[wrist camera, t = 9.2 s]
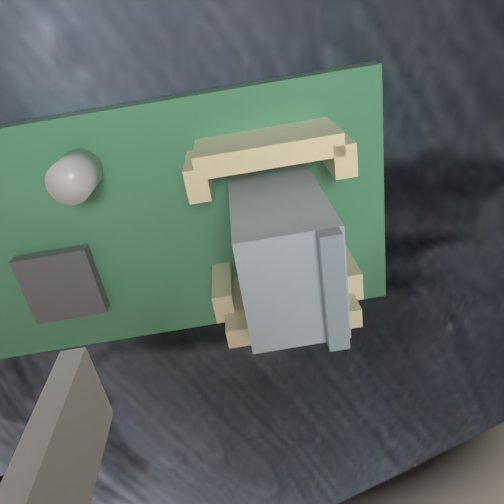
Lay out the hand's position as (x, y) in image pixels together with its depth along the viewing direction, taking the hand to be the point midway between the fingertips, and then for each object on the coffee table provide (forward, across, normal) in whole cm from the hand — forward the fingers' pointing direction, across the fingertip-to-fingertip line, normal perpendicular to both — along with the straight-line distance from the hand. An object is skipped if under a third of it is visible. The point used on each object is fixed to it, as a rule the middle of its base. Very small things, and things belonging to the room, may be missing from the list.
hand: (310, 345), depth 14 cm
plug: (+12, 0, -1) cm, 12 cm away
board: (+13, -6, -1) cm, 14 cm away
